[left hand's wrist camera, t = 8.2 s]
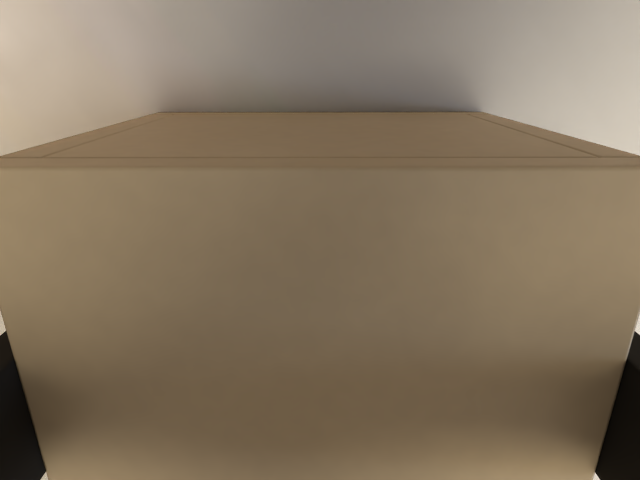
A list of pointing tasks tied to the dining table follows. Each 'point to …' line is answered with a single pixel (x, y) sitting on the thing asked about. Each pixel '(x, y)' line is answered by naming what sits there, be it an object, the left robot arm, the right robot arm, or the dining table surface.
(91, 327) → the tan cardboard box
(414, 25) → the dining table surface
